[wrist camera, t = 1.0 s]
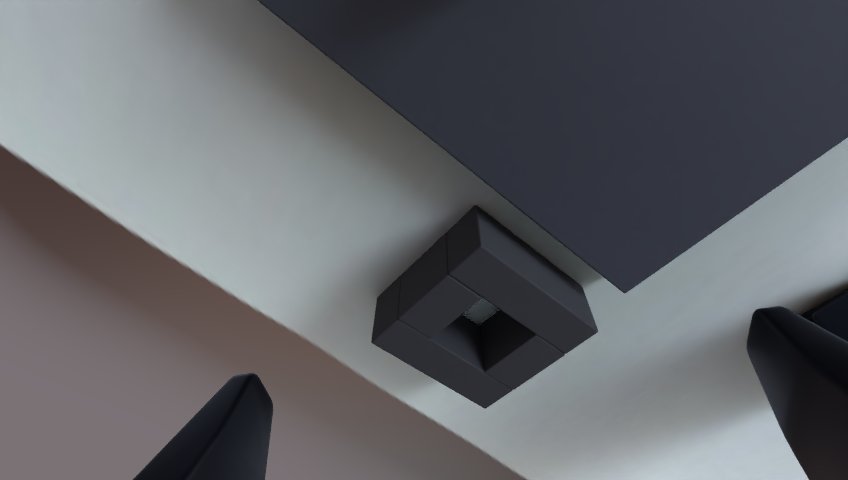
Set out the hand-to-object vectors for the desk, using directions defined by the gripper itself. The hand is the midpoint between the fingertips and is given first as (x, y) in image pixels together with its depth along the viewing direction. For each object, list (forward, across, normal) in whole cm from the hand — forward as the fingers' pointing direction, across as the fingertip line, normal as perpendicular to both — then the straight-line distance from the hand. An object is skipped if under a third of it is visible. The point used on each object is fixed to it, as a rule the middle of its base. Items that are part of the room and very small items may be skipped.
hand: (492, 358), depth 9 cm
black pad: (+12, +1, +9) cm, 15 cm away
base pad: (+12, -4, -2) cm, 13 cm away
